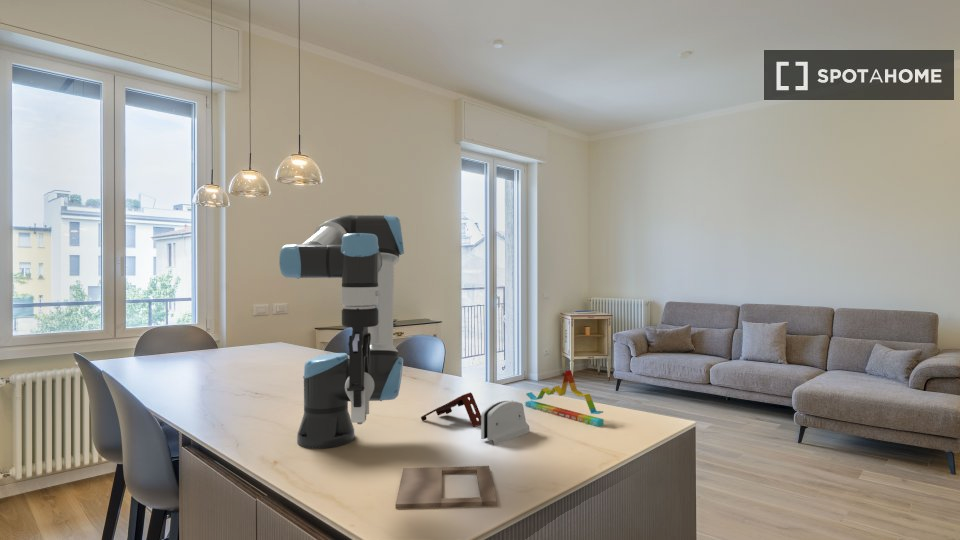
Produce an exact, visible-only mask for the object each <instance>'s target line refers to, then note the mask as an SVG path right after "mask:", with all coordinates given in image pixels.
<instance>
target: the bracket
mask: <svg viewBox="0 0 960 540" xmlns="http://www.w3.org/2000/svg"><path fill="white" fill-rule="evenodd" d="M457 406H458V407H462V406H464V408H465V410H466V414H467V416H468V418H469V421H470V423H471V425H472V427H473V428H475V427H478V426H479V425H480V426H481V414H482V413H481V412H480V409H479V408H478V405H477V403H476V400H475V397H474V395H473V393H472V392H467V393H465V394H462V395H460V396H459V397H456V398H455V399H452V400H450V401H449V402H447V403H445V404H444V405H441V406H439V407H436V408H435V409H433V410H431V411H429V412H428V413H426V414H424V415H422V416H421V417H420V419H421V421H422V422H425V421H427V416H429V415H431V414H432V413H434V412H436V414H437V416H440V415H443V414H445V415H449V414H450V413H452V412H453V410H452V408H454V407H457ZM472 407H473V408H472ZM477 419H478V420H477Z"/></svg>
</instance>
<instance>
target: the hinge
mask: <svg viewBox="0 0 960 540" xmlns="http://www.w3.org/2000/svg"><path fill="white" fill-rule="evenodd" d="M480 414H481V424H480V428H481V429H480V430H481V431H480V439H482V440H485V439H487V440H488V441H489V440H490V441H493V446H498V445H500V444H503V443H505V442H508V441H509V440H513V439H515V438H517V437H519V436H520V437H521V436H522V435H526V434H528V433H530V432H531V431H530V425H529V424H528V422H527V421H526V415H525V410H524V405H523V403H522V402H519V401H514V400H502V401H497V402H495V403H492V404H491V405H489V406H488V407H486V408H485V409H483V411H482V412H481V413H480Z"/></svg>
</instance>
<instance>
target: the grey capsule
mask: <svg viewBox="0 0 960 540" xmlns="http://www.w3.org/2000/svg"><path fill="white" fill-rule="evenodd" d="M347 388H349V377H348V378H347V380H346V383H345V391H346V394H347V396H348V397H349V399H350V401H349V402H351V391H347ZM364 390H365V422H366V421H367V414H366V412H367V410H368V402H369V403H370V401H369V399H370V397H371V395H372V393H373V391H374V380H373V378H372V377H371V376H370V375H369V374H368V373H366V372H364ZM363 423H364V422H356V424H357V425H362V424H363Z"/></svg>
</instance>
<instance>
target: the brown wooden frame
mask: <svg viewBox="0 0 960 540" xmlns="http://www.w3.org/2000/svg"><path fill="white" fill-rule="evenodd" d="M461 474H463V475H465V474H468V475H469V474H472V475H473V474H476V477H477V484H478V489H479V497H452V498H451V497H450V498H449V497H446V498H445V497H444V498H443V497H442V493H443V491H442V490H443V486H442V485H443V475H461ZM494 486H495V485H494V482H493V478H492V472H491V469H490V466H489V465H471V466H469V465H468V466H435V467H434V466H433V467H431V466H430V467H427V466H426V467H403V468H402V472H401V476H400V482H399V487H398V490H397V491H398V492H397V495H396V500H395V509H424V508H425V509H427V508H429V509H430V508H463V507H466V508H467V507H469V508H471V507H497V506H498V500H497V497H496V496H497V495H496V490H495V487H494Z"/></svg>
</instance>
